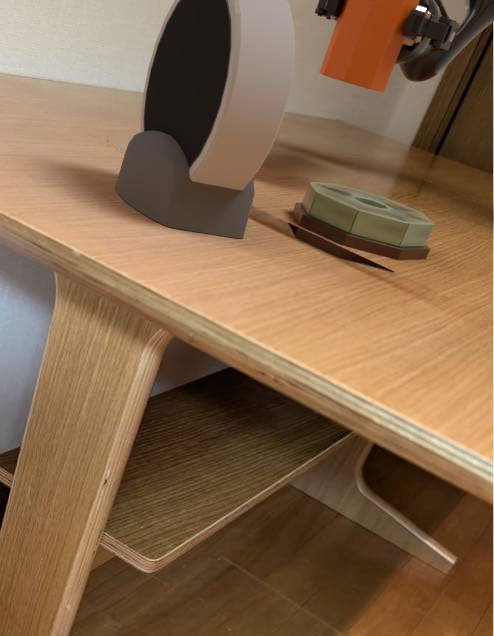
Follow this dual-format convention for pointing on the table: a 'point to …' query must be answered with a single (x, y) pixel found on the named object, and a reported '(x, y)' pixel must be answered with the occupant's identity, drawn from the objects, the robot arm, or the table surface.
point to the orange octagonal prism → (367, 41)
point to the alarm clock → (210, 113)
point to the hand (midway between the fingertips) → (371, 12)
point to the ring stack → (360, 224)
